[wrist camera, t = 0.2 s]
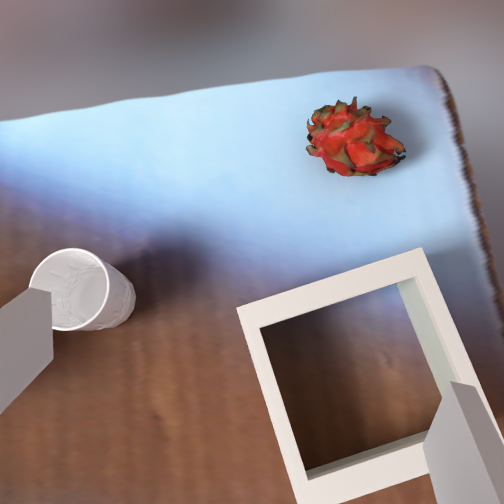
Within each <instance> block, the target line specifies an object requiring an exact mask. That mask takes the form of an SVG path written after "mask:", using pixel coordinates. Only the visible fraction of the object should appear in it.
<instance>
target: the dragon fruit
mask: <svg viewBox="0 0 504 504" xmlns="http://www.w3.org/2000/svg"><path fill="white" fill-rule="evenodd" d="M356 98H357V97H354V98H353V101H352V104H351V105H347V103H342V102H341V101H339V100H338V101H337V102H336V105H335V106H330V105H324V107H322V108H320V109H318V110H315V111H314V113H316V114H313V115H312V118H311V119H312V122H313V123H314V125H310V124H309V119H308V122H307V129H308V131H309V134H308V136H307V139H308V140H309V142H310V143H311V144H314V147H313V145H309V146H307V147H306V150H307V151H308V153H309V155H312V156H315V157H322V158H323V160H324V162H325V164H326V168H327V170H328V171H329V172H330V173H334V172H337V173H338V174H340V175H342V176H364V175H368V176H376V175H377V174H375V173H378V172H380V171H382V170H384V169H387V168H391V167H394V166H395V165H397V164H398V163H399V162H400V161H401V160H403V159H404V158H405V157H406V156H405V155H404V156H401V157H400V158H399V156H396V155H393V153H394V150H395V151H396V153H397V154H398V155H399V154H401V152H406V151H405V149H404V146H403V144H402V143H401V142H400V141H398V140H397V139H394V138H393V137H392V136H390V135H388V134H386V133H385V128H386V126H387V125H389V124H390V123H391V120H390V119H389V118H388V117H385V116H382V118H379V119H375V118H372V117H370V113H371V107H368V106H364V107H363V108H362V109H359V110H358V109H357V101H356Z"/></svg>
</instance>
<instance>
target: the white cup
mask: <svg viewBox="0 0 504 504" xmlns="http://www.w3.org/2000/svg"><path fill="white" fill-rule="evenodd" d="M30 287H31V288H35V289H40V290H44V291H49V292H51V298H52V328H53V329H56V330H62V331H72V330H100V329H104V328H114V327H116V326H118V325H120V324H121V323H123V322H124V321H126V320H127V319H128V317H129V316H130V314H131V313H132V311H133V310H134V306H135V300H136V294H135V290H134V287H133V284H132V283H131V282H130V281H129V280H128V279H127V277H126V276H125V275H123V274H122V273H121V272H119V271H118V270H117V269H115V268H114V267H113V266H111V265H110V264H108V263H107V262H105V261H103V260H102V259H100V258H99V257H97V256H96V255H94V254H93V253H91V252H89V251H86V250H83V249H78V248H68V249H63V250H59V251H57V252H55V253H53V254H51V255H49V256H48V257H47V258H45V259H44V260H43V261H42V262H41V263H40V264H39V265H38V267H37V268H36V270H35V271H34V273H33V275H32V278H31V280H30V284H29V288H30Z"/></svg>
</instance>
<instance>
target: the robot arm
mask: <svg viewBox="0 0 504 504" xmlns="http://www.w3.org/2000/svg"><path fill="white" fill-rule="evenodd" d="M52 360H53V329H52V298H51V292H49V291H44V290H40V289H35V288H31V287H30V288H28V289H27V290H25V291H24V292H23V293H21V294H20V295H18V296H17V297H16V298H14V299H13V300H11V301H10V302H9V303H7V304H6V305H4V306H3V307H1V308H0V414H1V413H2V412H3V411H4V410H5V409H6V408H7V407H8V406H9V405H10V403H11V402H12V401H13V400H14V399H15V398H16V397H17V396H18V395H19V394H20V393H21V392H22V391H23V390H24V389H25V388H26V387H27V386H28V385H29V384H30V383H31V382H32V381H33V380H34V379H35V378H36V377H37V376H38V375H39V373H40V372H41V371H42V370H43V369H44V368H45V367H46V366H47V365H48V364H49V363H50V362H51V361H52ZM422 447H423V451H424V454H425V458H426V462H427V466H428V469H429V473H430V477H431V481H432V485H433V488H434V492H435V496H436V500H437V503H438V504H504V445H503V443H502V441H501V439H500V437H499V434H498V432H497V430H496V428H495V426H494V424H493V422H492V420H491V418H490V416H489V414H488V412H487V410H486V408H485V406H484V404H483V402H482V400H481V398H480V396H479V393H478V391H477V389H476V387H475V386H471V385H467V384H462V383H458V382H453V381H449V384H448V386H447V389H446V391H445V393H444V396H443V398H442V400H441V403H440V405H439V408H438V410H437V412H436V415H435V417H434V420H433V422H432V424H431V427H430V429H429V431H428V434H427V436H426V439H425V441H424V443H423V446H422Z"/></svg>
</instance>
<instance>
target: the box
mask: <svg viewBox="0 0 504 504" xmlns="http://www.w3.org/2000/svg"><path fill="white" fill-rule="evenodd" d="M395 283H396V285H397V287H398V290H399V292H400V295H401V297H402V300H403V302H404V305H405V307H406V310H407V312H408V315H409V317H410V320H411V322H412V324H413V327H414V329H415V332H416V334H417V337H418V339H419V342H420V344H421V347H422V349H423V352H424V354H425V357H426V359H427V362H428V364H429V367H430V369H431V372H432V374H433V377H434V379H435V381H436V384H437V386H438V389H439V391H440V394H441V396H442V398H443V396H444V393H445V391H446V389H447V386H448V384H449V381H453V382H458V383H462V384H467V385H471V386H475V387H476V389H477V391H478V393H479V396H480V398H481V400H482V402H483V404H484V406H485V408H486V410H487V412H488V414H489V416H490V418H491V420H492V422H493V424H494V426H495V428H496V430H497V432H498V434H499V437H500V439H501V441H502V443H503V445H504V439H503V437H502V435H501V432H500V430H499V427H498V425H497V423H496V420H495V418H494V416H493V413H492V411H491V409H490V406H489V404H488V402H487V399H486V397H485V395H484V392H483V390H482V388H481V385H480V383H479V380H478V378H477V376H476V373H475V371H474V369H473V366H472V364H471V362H470V359H469V357H468V355H467V352H466V350H465V348H464V345H463V343H462V341H461V338H460V336H459V334H458V331H457V329H456V326H455V324H454V322H453V319H452V317H451V315H450V312H449V310H448V308H447V305H446V303H445V301H444V298H443V296H442V294H441V291H440V289H439V287H438V284H437V282H436V280H435V277H434V275H433V272H432V270H431V268H430V265H429V263H428V261H427V258H426V256H425V254H424V251H423V249H422V247H420V248H417V249H414V250H411V251H407V252H404V253H401V254H398V255H395V256H392V257H389V258H386V259H383V260H380V261H377V262H374V263H371V264H368V265H365V266H362V267H359V268H356V269H353V270H350V271H347V272H344V273H341V274H338V275H335V276H331V277H328V278H325V279H322V280H319V281H316V282H313V283H310V284H307V285H304V286H301V287H298V288H295V289H292V290H289V291H286V292H283V293H280V294H277V295H274V296H271V297H268V298H265V299H262V300H258V301H255V302H252V303H249V304H246V305H243V306H240V307H237V308H236V309H237V312H238V315H239V318H240V321H241V325H242V328H243V331H244V334H245V337H246V341H247V344H248V347H249V350H250V353H251V357H252V360H253V363H254V366H255V369H256V373H257V376H258V379H259V382H260V385H261V389H262V392H263V395H264V398H265V401H266V405H267V408H268V411H269V414H270V417H271V421H272V424H273V427H274V430H275V433H276V437H277V440H278V443H279V446H280V449H281V452H282V456H283V459H284V462H285V465H286V468H287V472H288V475H289V478H290V481H291V484H292V488H293V491H294V494H295V497H296V500H297V504H339V503H342V502H345V501H348V500H351V499H354V498H357V497H360V496H363V495H366V494H369V493H372V492H375V491H377V490H380V489H383V488H386V487H389V486H392V485H395V484H398V483H401V482H404V481H407V480H410V479H413V478H416V477H419V476H422V475H425V474H428V473H429V469H428V466H427V462H426V458H425V454H424V451H423V447H422V446H423V443H424V441H425V439H426V436H427V434H428V431H429V430H426V431H423V432H420V433H417V434H414V435H411V436H408V437H405V438H402V439H399V440H396V441H393V442H391V443H388V444H385V445H382V446H379V447H376V448H373V449H370V450H367V451H364V452H361V453H358V454H355V455H352V456H349V457H346V458H343V459H340V460H337V461H334V462H331V463H328V464H325V465H322V466H319V467H316V468H313V469H310V470H308V471H305V469H304V466H303V462H302V459H301V456H300V453H299V450H298V447H297V444H296V441H295V438H294V434H293V431H292V428H291V425H290V422H289V419H288V416H287V413H286V410H285V406H284V403H283V400H282V397H281V394H280V391H279V388H278V385H277V382H276V379H275V375H274V372H273V369H272V366H271V363H270V360H269V357H268V354H267V351H266V347H265V344H264V341H263V338H262V335H261V332H260V329H259V328H262V327H265V326H268V325H271V324H274V323H277V322H280V321H283V320H286V319H289V318H292V317H295V316H298V315H301V314H304V313H307V312H310V311H313V310H316V309H319V308H323V307H326V306H329V305H332V304H335V303H338V302H341V301H344V300H347V299H350V298H353V297H356V296H359V295H362V294H365V293H368V292H371V291H374V290H377V289H380V288H383V287H386V286H389V285H392V284H395Z"/></svg>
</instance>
